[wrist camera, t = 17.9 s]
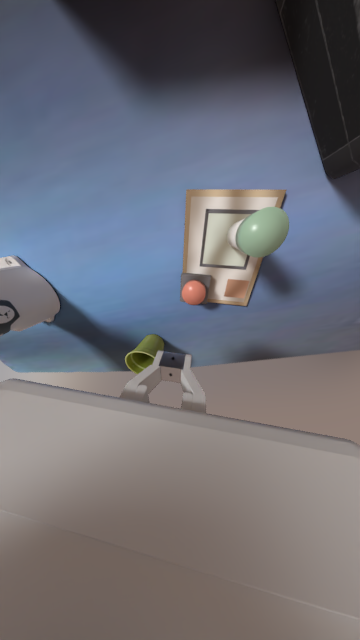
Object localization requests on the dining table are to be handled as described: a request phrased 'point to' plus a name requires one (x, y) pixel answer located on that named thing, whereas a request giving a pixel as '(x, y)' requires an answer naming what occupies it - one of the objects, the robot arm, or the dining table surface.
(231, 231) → the green capped bottle
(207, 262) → the colouring board
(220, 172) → the dining table surface
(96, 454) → the robot arm
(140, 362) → the plant pot
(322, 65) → the cash box
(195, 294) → the button
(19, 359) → the dining table surface
